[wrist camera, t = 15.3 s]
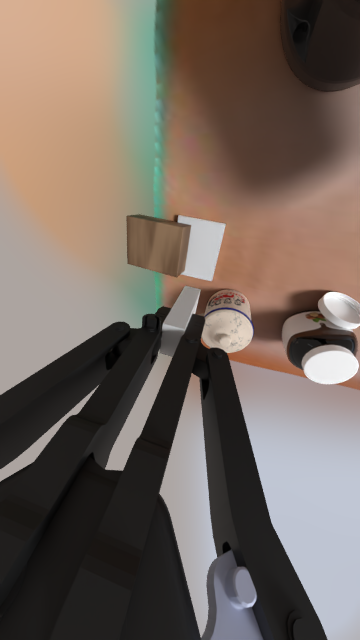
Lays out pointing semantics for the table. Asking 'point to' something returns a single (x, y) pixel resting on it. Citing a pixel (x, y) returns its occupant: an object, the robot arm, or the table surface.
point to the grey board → (202, 246)
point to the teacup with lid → (227, 321)
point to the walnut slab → (157, 244)
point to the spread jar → (324, 339)
